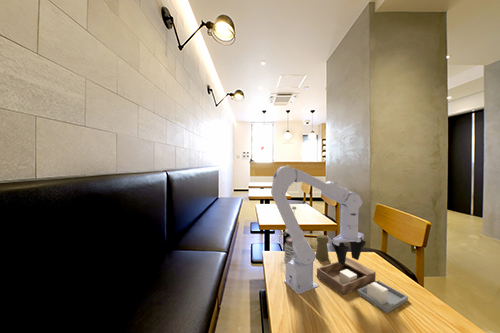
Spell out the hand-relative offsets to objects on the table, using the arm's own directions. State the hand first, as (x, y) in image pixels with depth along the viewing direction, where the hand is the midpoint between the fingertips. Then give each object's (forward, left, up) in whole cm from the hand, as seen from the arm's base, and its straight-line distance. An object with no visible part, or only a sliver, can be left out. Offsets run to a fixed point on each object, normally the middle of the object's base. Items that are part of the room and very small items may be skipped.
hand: (348, 261), depth 66 cm
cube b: (0, 0, -8) cm, 8 cm away
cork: (+6, +18, -9) cm, 21 cm away
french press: (-8, +23, -9) cm, 26 cm away
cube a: (+1, -9, -8) cm, 12 cm away
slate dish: (+4, -9, -9) cm, 13 cm away
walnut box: (+2, +3, -9) cm, 9 cm away
